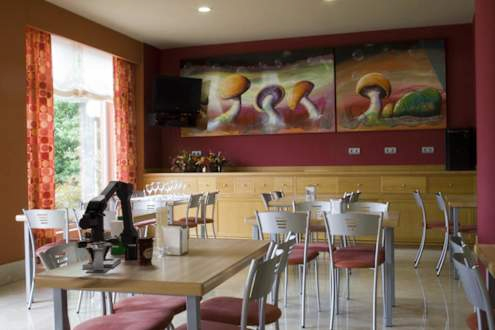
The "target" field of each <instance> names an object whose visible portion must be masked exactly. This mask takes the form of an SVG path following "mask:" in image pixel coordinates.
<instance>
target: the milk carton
mask: <svg viewBox="0 0 495 330" xmlns="http://www.w3.org/2000/svg"><path fill="white" fill-rule="evenodd" d="M108 223H109V227H110V238H111V237H116V238H118V239H119V241H120V244H117V245H113V244H111V245H112V247H110V255H119V256H122V255H125V253H124V250H126V249H125V247H123V246H122V242H121V235H120V233H121V232H122V231H123V229H124V227H123V218H122V215H118V216H117V219H114V220H110V221H108Z"/></svg>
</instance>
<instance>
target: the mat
mask: <svg viewBox="0 0 495 330" xmlns="http://www.w3.org/2000/svg"><path fill="white" fill-rule="evenodd" d="M111 269H112V268H101V269H93V268H91V269H87V271H85V274H106V273H107V272H108V271H110V270H111Z"/></svg>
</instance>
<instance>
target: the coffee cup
mask: <svg viewBox="0 0 495 330" xmlns="http://www.w3.org/2000/svg"><path fill="white" fill-rule="evenodd" d="M154 241H155V240H154V237H153V236H140V237H139V238H138V240H137V241H136V243H137V246H138V258H139V259H138V265H139V266H150V265H153V261H152V260H153V254H154Z"/></svg>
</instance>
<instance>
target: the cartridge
mask: <svg viewBox="0 0 495 330" xmlns="http://www.w3.org/2000/svg"><path fill="white" fill-rule="evenodd" d="M103 250H104V249H103V248H93V257H94V261H93V269H101V268H104V262H103Z"/></svg>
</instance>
